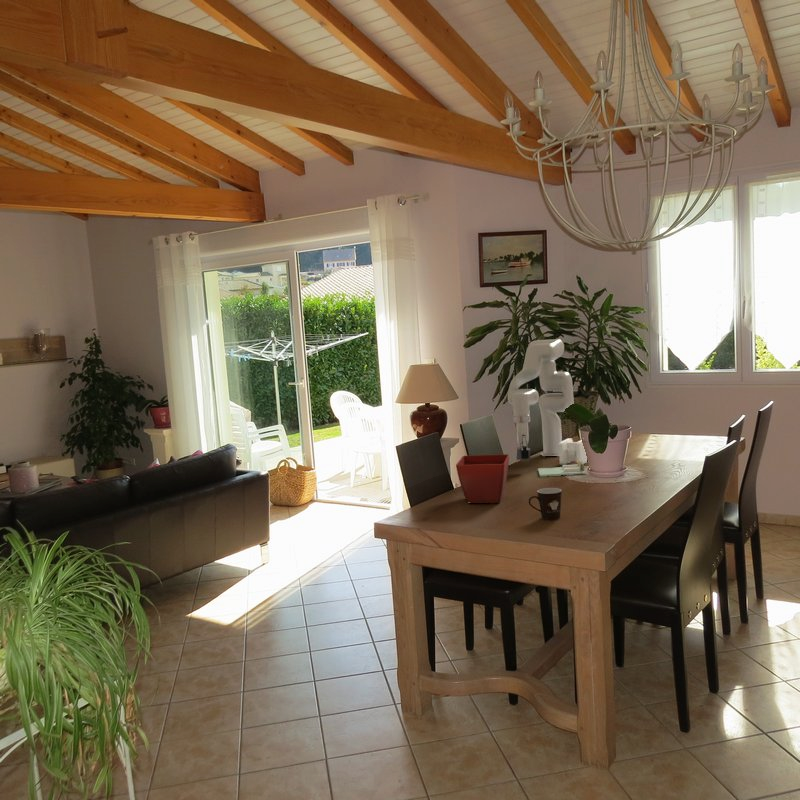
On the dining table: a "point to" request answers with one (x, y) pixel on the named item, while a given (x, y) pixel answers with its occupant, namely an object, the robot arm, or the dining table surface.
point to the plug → (519, 456)
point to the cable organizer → (571, 452)
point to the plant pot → (483, 477)
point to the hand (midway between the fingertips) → (525, 457)
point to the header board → (562, 470)
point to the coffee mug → (549, 503)
